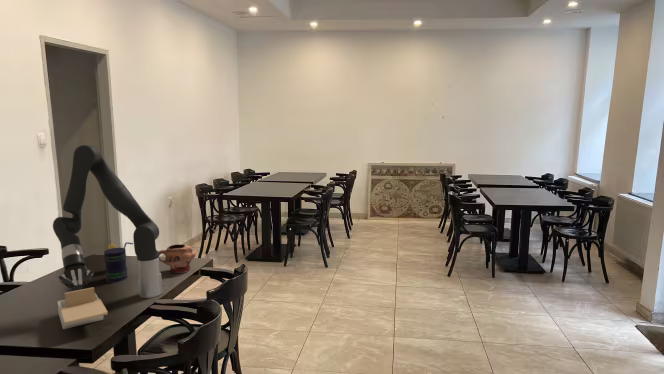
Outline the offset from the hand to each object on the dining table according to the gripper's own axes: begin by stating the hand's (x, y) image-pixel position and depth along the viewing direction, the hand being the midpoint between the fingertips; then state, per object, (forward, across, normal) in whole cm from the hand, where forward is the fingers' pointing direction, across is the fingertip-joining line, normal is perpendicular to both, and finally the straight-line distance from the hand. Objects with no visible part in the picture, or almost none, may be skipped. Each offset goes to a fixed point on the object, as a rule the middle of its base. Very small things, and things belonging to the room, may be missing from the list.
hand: (79, 294), depth 173 cm
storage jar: (-23, +21, +38) cm, 49 cm away
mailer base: (+6, 0, +9) cm, 11 cm away
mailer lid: (+9, 0, -3) cm, 10 cm away
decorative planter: (-18, +49, +33) cm, 61 cm away
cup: (-33, +26, +48) cm, 64 cm away
